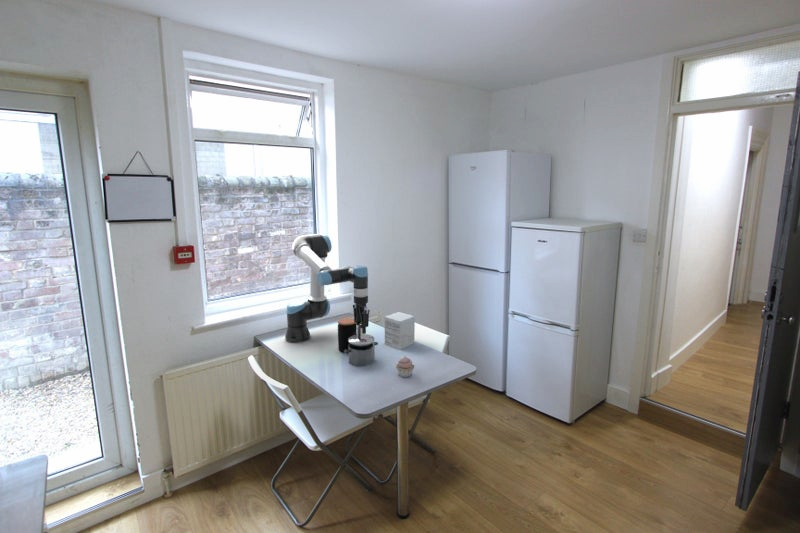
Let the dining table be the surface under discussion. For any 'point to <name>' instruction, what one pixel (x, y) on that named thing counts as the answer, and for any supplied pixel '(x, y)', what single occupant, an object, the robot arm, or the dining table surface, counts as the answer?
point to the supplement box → (399, 330)
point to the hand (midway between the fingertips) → (361, 337)
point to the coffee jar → (345, 332)
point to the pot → (361, 354)
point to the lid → (358, 341)
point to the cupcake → (405, 367)
